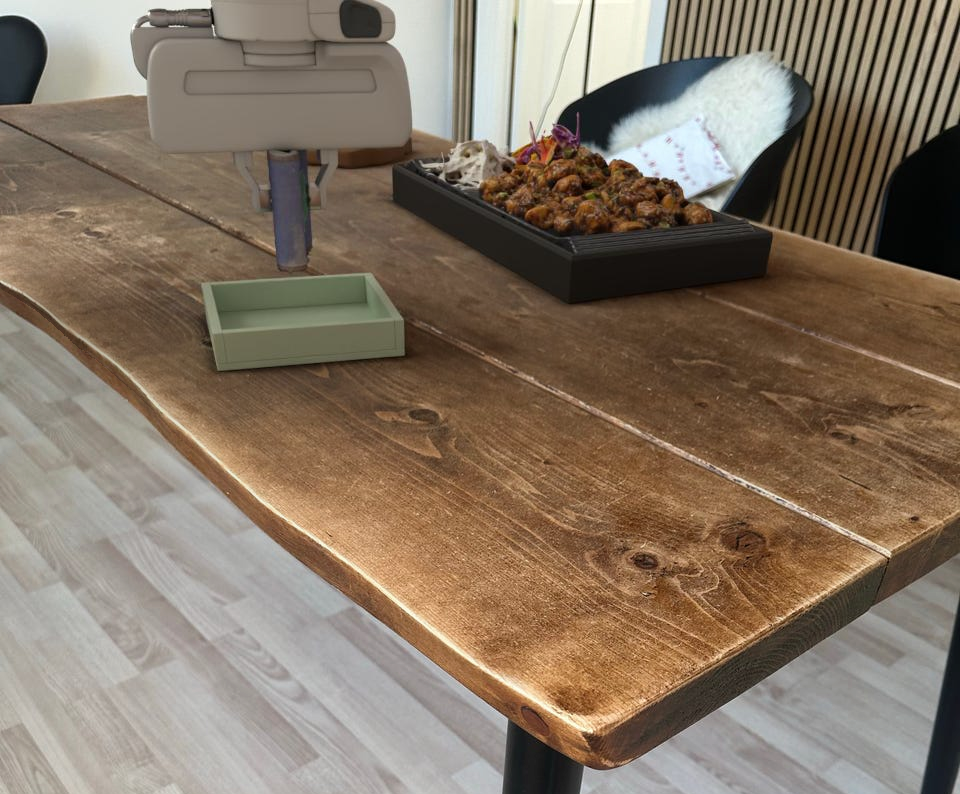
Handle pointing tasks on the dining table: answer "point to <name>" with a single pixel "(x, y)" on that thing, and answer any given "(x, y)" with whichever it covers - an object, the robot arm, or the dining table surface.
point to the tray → (301, 321)
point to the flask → (290, 209)
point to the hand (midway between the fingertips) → (290, 209)
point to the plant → (365, 155)
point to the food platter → (578, 219)
